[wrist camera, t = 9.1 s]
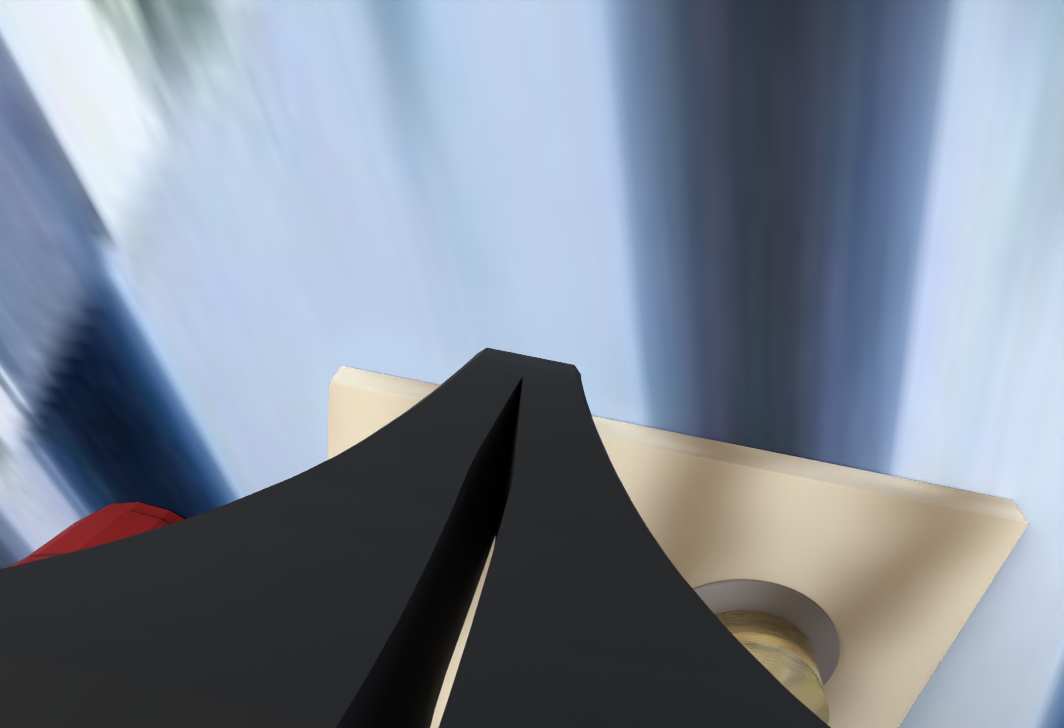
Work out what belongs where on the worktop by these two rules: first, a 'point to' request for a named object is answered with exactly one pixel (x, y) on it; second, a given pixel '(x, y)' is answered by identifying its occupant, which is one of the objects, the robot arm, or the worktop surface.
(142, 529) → the plastic cup
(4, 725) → the robot arm
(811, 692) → the lever
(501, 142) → the worktop surface
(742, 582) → the dial board
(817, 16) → the worktop surface
